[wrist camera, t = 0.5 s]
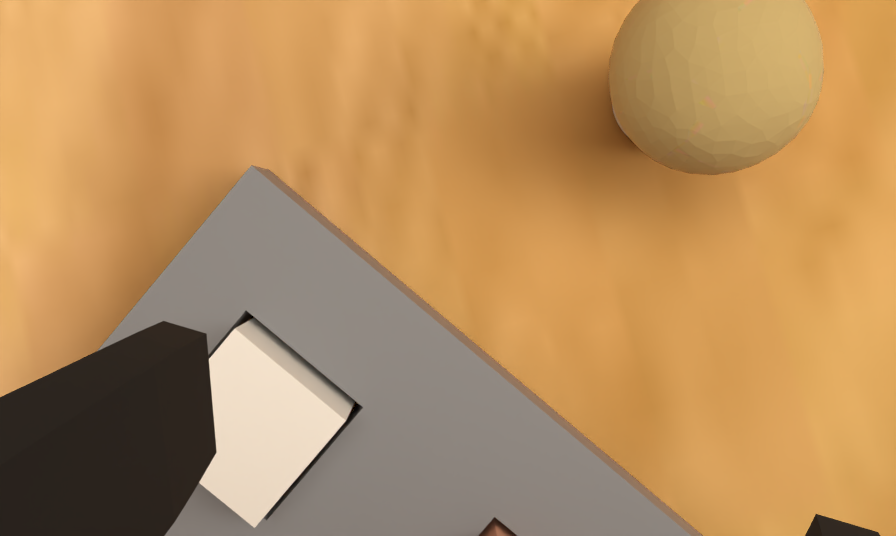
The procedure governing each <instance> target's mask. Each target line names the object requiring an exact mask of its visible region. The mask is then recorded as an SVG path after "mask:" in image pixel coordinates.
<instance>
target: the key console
mask: <svg viewBox="0 0 896 536" xmlns="http://www.w3.org/2000/svg"><path fill="white" fill-rule="evenodd" d="M251 316H254V317H255V318H256V319H257V320H258V321H260V322H261V323H262V324H263V325H264V326H266V327H267V328H268V329H269V330H271V331H272V332H273V333H274V334H275V335H277V336H278V337H279V338H280V339H281V340H283V341H284V342H285V343H286V344H287V345H289V346H290V347H291V348H292V349H293V350H295V351H296V352H297V353H298V354H299V355H301V356H302V357H303V358H304V359H305V360H307V361H308V362H309V363H310V364H311V365H313V366H314V367H315V368H316V369H317V370H319V371H320V372H321V373H322V374H323V375H325V376H326V377H327V378H328V379H329V380H331V381H332V382H333V383H334V384H335V385H337V386H338V387H339V388H340V389H341V390H343V391H344V392H345V393H346V394H348V395H349V396H350V397H351V398H352V399H354V400H355V401H356V402H357V403H358V405H357V407H356V408H355V409H354V410H353V411H352V412H351V414H350V415H349V416H348V418H347V420H346V421H345V423H344V424H343V425H342V426H341V427H340V428H339V430H338V431H337V432H336V433H335V434H334V435H333V437H332V438H331V439H330V440H329V441H328V443H327V444H326V445H325V446H324V447H323V448H322V450H321V451H320V452H319V453H318V454H317V455H316V457H315V458H314V459H313V460H312V461H311V462H310V464H309V465H308V466H307V467H306V468H305V469H304V471H303V472H302V473H301V474H300V475H299V477H298V478H297V479H296V480H295V481H294V482H293V484H292V485H291V486H290V487H289V488H288V489H287V491H286V492H285V493H284V494H283V495H282V496H281V498H280V499H279V500H278V501H277V502H276V503H275V505H274V506H273V507H272V508H271V509H270V511H269V512H268V513H267V514H266V515H265V516H264V518H263V519H262V520H261V521H260V522H259V523H258V525H257V526H256V527H255V528H254V527H253V526H251V525H250V524H249V523H248V522H246V521H245V520H244V519H243V518H242V517H240V516H239V515H238V514H237V513H235V512H234V511H233V510H232V509H231V508H229V507H228V506H227V505H226V504H224V503H223V502H222V501H221V500H220V499H218V498H217V497H216V496H215V495H213V494H212V493H211V492H210V491H208V490H207V489H206V488H205V487H204V486H202V485H201V484H200V483H199V484H198V485H197V487H196V489H195V491H194V492H193V494H192V495H191V497H190V499H189V500H188V502H187V503H186V505H185V507H184V508H183V510H182V511H181V513H180V515H179V516H178V518H177V519H176V521H175V523H174V524H173V525H172V526H171V528H170V529H169V530H168V532H167V533H166V534H165V536H479V534H480V533H481V532H482V531H483V530H484V529H485V527H486V526H487V525H488V524H489V523H490V522H491V521H492V519H493V518H494V517H495V518H497V519H498V520H499V521H500V522H501V523H503V524H504V525H505V526H506V527H507V528H509V529H510V530H511V531H512V532H514V533H515V534H516V535H517V536H703V535H701V534H700V533H699V532H698V531H697V530H695V529H694V528H693V527H692V526H691V525H690V524H688V523H687V522H686V521H685V520H684V519H682V518H681V517H680V516H679V515H678V514H676V513H675V512H674V511H673V510H672V509H671V508H669V507H668V506H667V505H666V504H665V503H663V502H662V501H661V500H660V499H659V498H657V497H656V496H655V495H654V494H653V493H652V492H650V491H649V490H648V489H647V488H646V487H644V486H643V485H642V484H641V483H640V482H639V481H637V480H636V479H635V478H634V477H633V476H631V475H630V474H629V473H628V472H627V471H625V470H624V469H623V468H622V467H621V466H620V465H618V464H617V463H616V462H615V461H614V460H612V459H611V458H610V457H609V456H608V455H606V454H605V453H604V452H603V451H602V450H601V449H599V448H598V447H597V446H596V445H595V444H593V443H592V442H591V441H590V440H589V439H588V438H586V437H585V436H584V435H583V434H582V433H580V432H579V431H578V430H577V429H576V428H574V427H573V426H572V425H571V424H570V423H569V422H567V421H566V420H565V419H564V418H563V417H561V416H560V415H559V414H558V413H557V412H555V411H554V410H553V409H552V408H551V407H550V406H548V405H547V404H546V403H545V402H544V401H542V400H541V399H540V398H539V397H538V396H537V395H535V394H534V393H533V392H532V391H531V390H529V389H528V388H527V387H526V386H525V385H523V384H522V383H521V382H520V381H519V380H518V379H516V378H515V377H514V376H513V375H512V374H510V373H509V372H508V371H507V370H506V369H504V368H503V367H502V366H501V365H500V364H499V363H497V362H496V361H495V360H494V359H493V358H491V357H490V356H489V355H488V354H487V353H485V352H484V351H483V350H482V349H481V348H480V347H478V346H477V345H476V344H475V343H474V342H472V341H471V340H470V339H469V338H468V337H467V336H465V335H464V334H463V333H462V332H461V331H459V330H458V329H457V328H456V327H455V326H453V325H452V324H451V323H450V322H449V321H448V320H446V319H445V318H444V317H443V316H442V315H440V314H439V313H438V312H437V311H436V310H434V309H433V308H432V307H431V306H430V305H429V304H427V303H426V302H425V301H424V300H423V299H421V298H420V297H419V296H418V295H417V294H416V293H414V292H413V291H412V290H411V289H410V288H408V287H407V286H406V285H405V284H404V283H402V282H401V281H400V280H399V279H398V278H397V277H395V276H394V275H393V274H392V273H391V272H389V271H388V270H387V269H386V268H385V267H383V266H382V265H381V264H380V263H379V262H378V261H376V260H375V259H374V258H373V257H372V256H370V255H369V254H368V253H367V252H366V251H365V250H363V249H362V248H361V247H360V246H359V245H357V244H356V243H355V242H354V241H353V240H351V239H350V238H349V237H348V236H347V235H346V234H344V233H343V232H342V231H341V230H340V229H338V228H337V227H336V226H335V225H334V224H332V223H331V222H330V221H329V220H328V219H327V218H325V217H324V216H323V215H322V214H321V213H319V212H318V211H317V210H316V209H315V208H314V207H312V206H311V205H310V204H309V203H308V202H306V201H305V200H304V199H303V198H302V197H300V196H299V195H298V194H297V193H296V192H295V191H293V190H292V189H291V188H290V187H289V186H287V185H286V184H285V183H284V182H283V181H281V180H280V179H279V178H278V177H277V176H276V175H274V174H273V173H272V172H271V171H270V170H267V169H263V168H260V167H256V166H252V165H251V167H250V168H249V169H248V170H247V171H246V173H245V174H244V175H243V176H242V177H241V179H240V180H239V181H238V182H237V183H236V185H235V186H234V187H233V188H232V189H231V191H230V192H229V193H228V194H227V195H226V197H225V198H224V199H223V200H222V201H221V203H220V204H219V205H218V206H217V207H216V209H215V210H214V211H213V212H212V213H211V215H210V216H209V217H208V218H207V220H206V221H205V222H204V223H203V224H202V226H201V227H200V228H199V229H198V230H197V232H196V233H195V234H194V235H193V236H192V238H191V239H190V240H189V241H188V242H187V244H186V245H185V246H184V247H183V248H182V250H181V251H180V252H179V253H178V254H177V256H176V257H175V258H174V259H173V260H172V262H171V263H170V264H169V265H168V266H167V268H166V269H165V270H164V271H163V273H162V274H161V275H160V276H159V277H158V279H157V280H156V281H155V282H154V283H153V285H152V286H151V287H150V288H149V289H148V291H147V292H146V293H145V294H144V295H143V297H142V298H141V299H140V300H139V301H138V303H137V304H136V305H135V306H134V307H133V309H132V310H131V311H130V312H129V313H128V315H127V316H126V317H125V318H124V319H123V321H122V322H121V323H120V324H119V326H118V327H117V328H116V329H115V330H114V332H113V333H112V334H111V335H110V336H109V338H108V339H107V340H106V341H105V342H104V344H103V345H102V346H101V347H100V348H99V350H101V349H103V348H105V347H107V346H109V345H111V344H113V343H115V342H118V341H120V340H122V339H124V338H126V337H128V336H130V335H132V334H135V333H137V332H139V331H141V330H143V329H146V328H148V327H150V326H153V325H155V324H157V323H160V322H162V321H166V322H169V323H173V324H176V325H179V326H183V327H186V328H189V329H193V330H196V331H200V332H203V333H206V334H207V345H208V357H209V358H210V357H211V356H212V355H213V354H214V353H215V351H216V350H217V349H218V348H219V347H220V345H221V344H222V343H223V342H224V341H225V339H226V338H227V337H228V336H229V335H230V333H231V332H232V331H233V330H234V329H235V328H236V327H238V326H240V325H242V324H244V323H246V322H247V321H248V320H249V319H250V317H251ZM99 350H98V351H99Z"/></svg>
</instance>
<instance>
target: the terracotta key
mask: <svg viewBox="0 0 896 536" xmlns="http://www.w3.org/2000/svg"><path fill="white" fill-rule="evenodd" d="M479 536H517V535H516V534H514V533H513V532H512V531H511V530H510V529H508V528H507V527H506V526H505V525H504V524H502V523H501V522H500V521H499V520H498V519H496V518H495V517H494V518H493V519H492V521H491V522H490V523H489V524H488V525H487V526H486V527H485V529H484V530H483V531H482V532H481V533H480V534H479Z"/></svg>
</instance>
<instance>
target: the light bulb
mask: <svg viewBox="0 0 896 536" xmlns="http://www.w3.org/2000/svg"><path fill="white" fill-rule="evenodd" d="M823 74H824V65H823V45H822V41H821V36H820V32H819V29H818V27H817V24H816V22H815V19H814V17H813V14H812V12H811V10H810V8H809V7H808V5H807V3H806V2H805V0H640V1H639V2H638V3H637V4H636V5H635V6H634V7H633V9H632V10H631V11H630V13H629V14H628V15H627V17H626V18H625V20H624V22H623V24H622V26H621V28H620V30H619V32H618V34H617V36H616V38H615V41H614V45H613V49H612V52H611V56H610V63H609V77H608V79H609V89H610V97H611V101H612V109H613V113H614V116H615V119H616V121H617V123H618V125H619V126H620V128H621V129H622V131H623V132H624V133H625V134H626V135H627V136H628V137H629V138H630V139H631V141H632V142H633V143H634V144H635V145H636V146H637V147H638V148H639V149H640V150H641V151H642V152H644V153H645V154H646V155H648V156H649V157H650V158H652V159H653V160H655V161H657V162H659V163H661V164H663V165H665V166H667V167H669V168H671V169H675V170H678V171H682V172H686V173H691V174H707V175H716V174H724V173H731V172H735V171H738V170H741V169H744V168H747V167H750V166H753V165H756V164H758V163H760V162H762V161H764V160H765V159H767V158H769V157H771V156H772V155H774V154H776V153H777V152H778V151H780V150H781V149H782V148H783V147H784V146H786V145H787V144H788V143H789V142H791V141H792V140H793V139H794V138H795V137H796V136H797V135H798V133H799V132H800V131H801V129H802V128H803V127H804V126H805V124H806V123H807V122H808V120H809V119H810V117H811V115H812V113H813V111H814V108H815V106H816V104H817V102H818V99H819V95H820V92H821V88H822V82H823Z"/></svg>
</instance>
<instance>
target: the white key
mask: <svg viewBox="0 0 896 536" xmlns="http://www.w3.org/2000/svg"><path fill="white" fill-rule="evenodd" d="M209 368H210V380H211V392H212V404H213V416H214V427H215V439H216V451H217V453H216V454H215V456H214V458H213V460H212V461H211V463H210V465H209V466H208V468H207V470H206V472H205V473H204V475H203V477H202V478H201V480H200V482H199V483H200V484H201V485H202V486H204V487H205V488H206V489H207V490H208V491H210V492H211V493H212V494H213V495H215V496H216V497H217V498H218V499H220V500H221V501H222V502H223V503H224V504H226V505H227V506H228V507H229V508H231V509H232V510H233V511H234V512H235V513H237V514H238V515H239V516H240V517H242V518H243V519H244V520H245V521H246V522H248V523H249V524H250V525H251V526H253V527H254V528H255V527H256V526H257V525H258V523H259V522H260V521H261V520H262V519H263V518H264V516H265V515H266V514H267V513H268V512H269V511H270V509H271V508H272V507H273V506H274V505H275V503H276V502H277V501H278V500H279V499H280V498H281V496H282V495H283V494H284V493H285V492H286V491H287V489H288V488H289V487H290V486H291V485H292V484H293V482H294V481H295V480H296V479H297V478H298V477H299V475H300V474H301V473H302V472H303V471H304V469H305V468H306V467H307V466H308V465H309V464H310V462H311V461H312V460H313V459H314V458H315V457H316V455H317V454H318V453H319V452H320V451H321V450H322V448H323V447H324V446H325V445H326V444H327V443H328V441H329V440H330V439H331V438H332V437H333V435H334V434H335V433H336V432H337V431H338V430H339V428H340V427H341V426H342V425H343V424H344V423H345V421H346V420H347V418H348V416H349V413H350V411H351V409H352V407H353V405H354V403H355V401H354V400H353V399H352V398H351V397H350V396H348V395H347V394H346V393H345V392H344V391H342V390H341V389H340V388H339V387H338V386H336V385H335V384H334V383H333V382H332V381H330V380H329V379H328V378H327V377H326V376H324V375H323V374H322V373H321V372H320V371H318V370H317V369H316V368H315V367H314V366H312V365H311V364H310V363H309V362H308V361H306V360H305V359H304V358H303V357H302V356H300V355H299V354H298V353H297V352H296V351H294V350H293V349H292V348H291V347H290V346H288V345H287V344H286V343H285V342H283V341H282V340H281V339H280V338H279V337H277V336H276V335H275V334H274V333H273V332H271V331H270V330H269V329H268V328H267V327H265V326H264V325H263V324H262V323H261V322H259V321H258V320H257V319H256V318H253V319H251V320H249V321H247V322H246V323H244V324H242V325H240V326H238V327H236V328H235V329H234V330H233V331H232V332H231V333H230V335H229V336H228V337H227V338H226V339H225V341H224V342H223V343H222V344H221V345H220V347H219V348H218V349H217V350H216V351H215V353H214V354H213V355H212V356H211V357H210V358H209Z"/></svg>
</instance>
